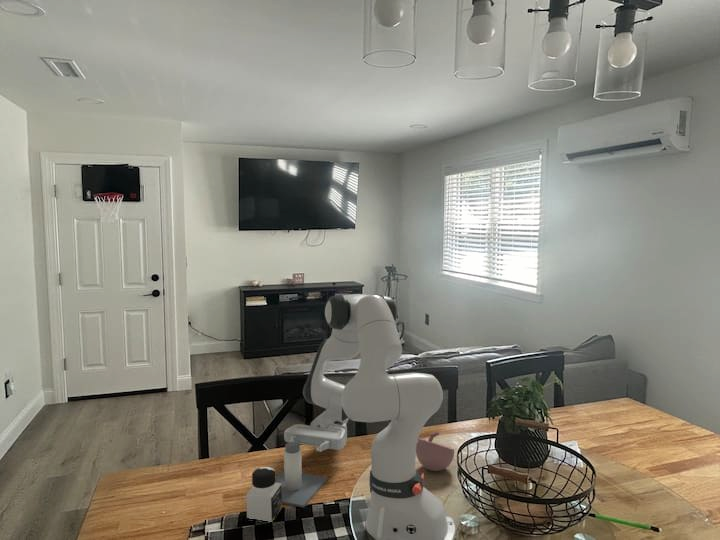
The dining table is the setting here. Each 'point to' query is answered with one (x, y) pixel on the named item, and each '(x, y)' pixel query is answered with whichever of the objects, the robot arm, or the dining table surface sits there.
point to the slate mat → (301, 489)
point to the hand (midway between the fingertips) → (304, 447)
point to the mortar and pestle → (434, 454)
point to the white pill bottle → (292, 466)
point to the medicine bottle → (264, 495)
